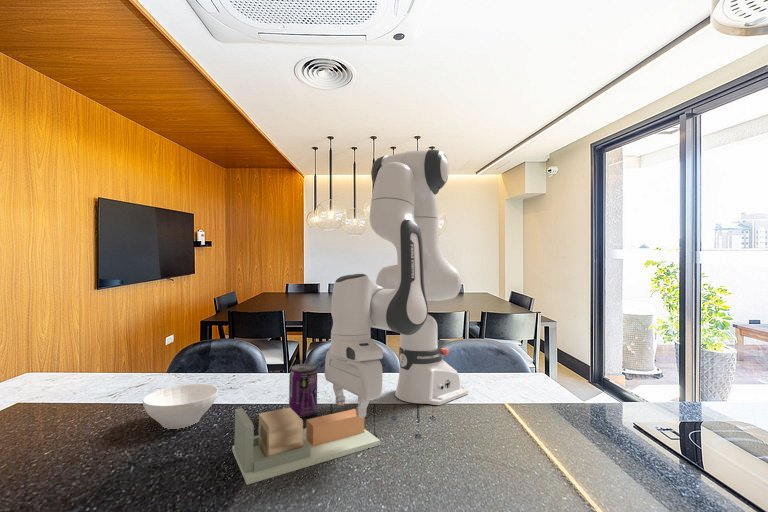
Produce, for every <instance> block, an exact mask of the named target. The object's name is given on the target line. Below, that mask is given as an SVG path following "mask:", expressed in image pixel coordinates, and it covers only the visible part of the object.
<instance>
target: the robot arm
mask: <svg viewBox="0 0 768 512" xmlns="http://www.w3.org/2000/svg"><path fill="white" fill-rule="evenodd" d="M449 174H450V165H449V161H448V157H447V155H446V154H445V153H444V152H443V151H442V150H439V149H430V148H429V149H428V150H409V151H405V152H400V153H395V154H391V155H387V154H386V155H383V156H380V157H379V158H377V159H376V160H375V161H374V162H373V164H372V166H371V173H370V175H371V181H372V184H373V188H372V194H371V200H370V207H369V224H370V227H371V228H372V230H373V232H374V233H375V234H376V235H377V236H379V237H380V238H382V239H384V240H385V241H389V242H390V243H391V244H393V246H394V248H395V250H396V253H397V254H396V255H397V256H396V257H397V264H392V265H388V266H383V267H381V269H380V271H378V273H377V276H376V280H375V282H373V280H371V279H370V278H369V277H368V275H367V274H365V273H354V274H346V275H342V276H340V277H338V278H337V279H336V280H335V281H334V284H333V287H332V293H331V313H330V314H331V318H332V327H331V331H330V345H329V348H328V350H327V352H326V353H325V359H324V360H325V361H324V377H325V381H326V382H329V383H331V384H332V388H333V392H334V393H333V394H334V396H335V404H336V405H338V406H343V405H345V404H346V396H345V395H344V390H345V391H347V392H349V393H351V394H353V395H355V396H357V401H358V404H357V407H355V409H356V415H357V416H358V417H360V418H362V417H364V418H365V417H366V416H367V408H368V406H369V404H370V401H371V400H375V399H378V398H380V396H381V394H382V392H383V365H382V362H381V361H380V360H381V359H383V357H384V350H383V348H382V347H380V345H378V344H377V343H376V342H375V341H374V339H373V338H371V329H372V328H374V329H380V330H384V331H392V332H395V333H398V334H400V335H399V336H400V338H399V339H400V346H399V348H398V349H399V350H398V362H399V371H398V372H399V373H398V379H397V385H396V390H395V392H394V396H395V397H396V398H397V399H398V400H400V401H404V402H406V403H413V404H423V405H425V404H426V405H427V404H428V405H435V406H441V405H444V404H446V403H449V402H450V401H451V402H452V401H453V400H456V399H459V398H462V397H463V396H465V395H468V394H469V390H468V389H467V387H465V386H463V385H461V381H460V375H459V373H458V371H457V370H456V369H454V368H453V367H452V366H451V365H450V364H448V362H446V361H445V360H444V359H443V355H444V356H445V357H447V356H448V355H449V353H450V352H449V349H447V348H444V347H442V348H440V347H438V323H437V320H436V319H435V318H434V317H433V316H432V315H430V314H429V307H428V302H433V301H434V302H437V301H438V302H441V301H446V300H451V299H455V298H457V296H458V295H459V293H460V291H461V289H462V277H461V274H460V272H459V271H458V270H457V268H455V266H453V265H452V264H451V263H450V262H449V261H448V260H447V258H446V257H445V256H444V254H443V252H442V250H441V246H440V241H439V207H438V206H439V205H438V197H437V195H438V193H439V192H440V190H441V189H442V188H443V187H444V186H445V185H446V183H447V181H448V178H449Z"/></svg>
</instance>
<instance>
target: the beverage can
mask: <svg viewBox="0 0 768 512" xmlns="http://www.w3.org/2000/svg"><path fill="white" fill-rule="evenodd" d="M288 379H289V382H288V383H289V385H288V388H289V390H288V395H289V396H288V408H289V407H290V408H291V409H292V410H293V411H294V412H295V413H296V414H297V415H298V416H299V417H302V418H306V417H305V416H308V417H310V416H312V415H314V414H315V413H317V411H318V371H317V369H316V365H314V364H311V363H310V364H309V363H301V364H295V365H292V366H291V371H290V372H289V378H288ZM309 415H310V416H309Z"/></svg>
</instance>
